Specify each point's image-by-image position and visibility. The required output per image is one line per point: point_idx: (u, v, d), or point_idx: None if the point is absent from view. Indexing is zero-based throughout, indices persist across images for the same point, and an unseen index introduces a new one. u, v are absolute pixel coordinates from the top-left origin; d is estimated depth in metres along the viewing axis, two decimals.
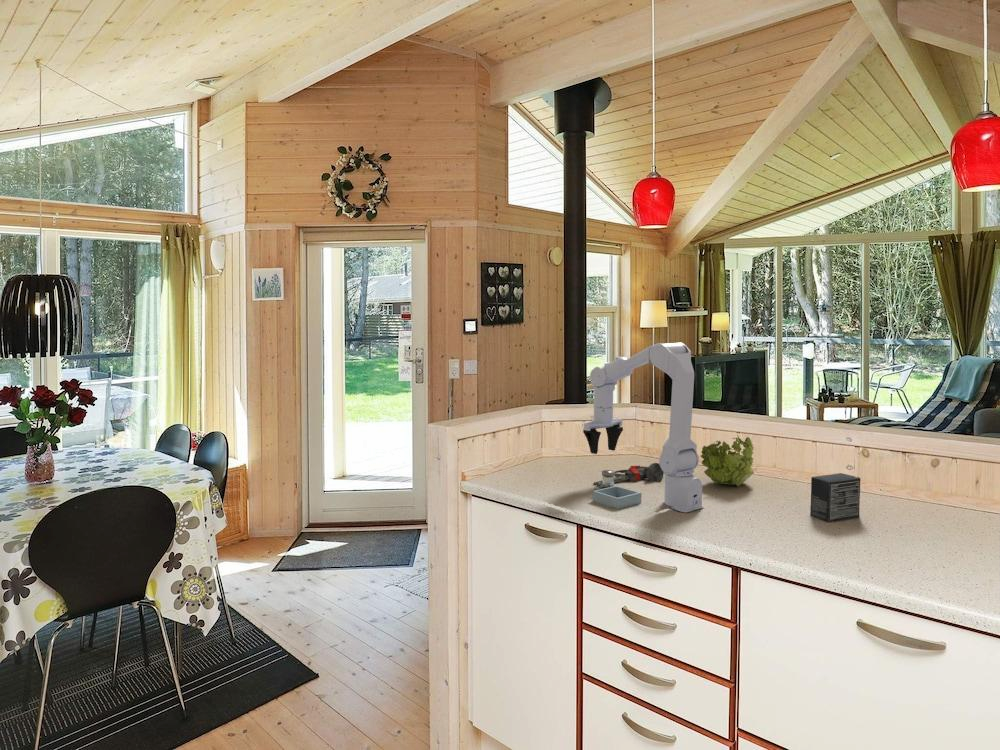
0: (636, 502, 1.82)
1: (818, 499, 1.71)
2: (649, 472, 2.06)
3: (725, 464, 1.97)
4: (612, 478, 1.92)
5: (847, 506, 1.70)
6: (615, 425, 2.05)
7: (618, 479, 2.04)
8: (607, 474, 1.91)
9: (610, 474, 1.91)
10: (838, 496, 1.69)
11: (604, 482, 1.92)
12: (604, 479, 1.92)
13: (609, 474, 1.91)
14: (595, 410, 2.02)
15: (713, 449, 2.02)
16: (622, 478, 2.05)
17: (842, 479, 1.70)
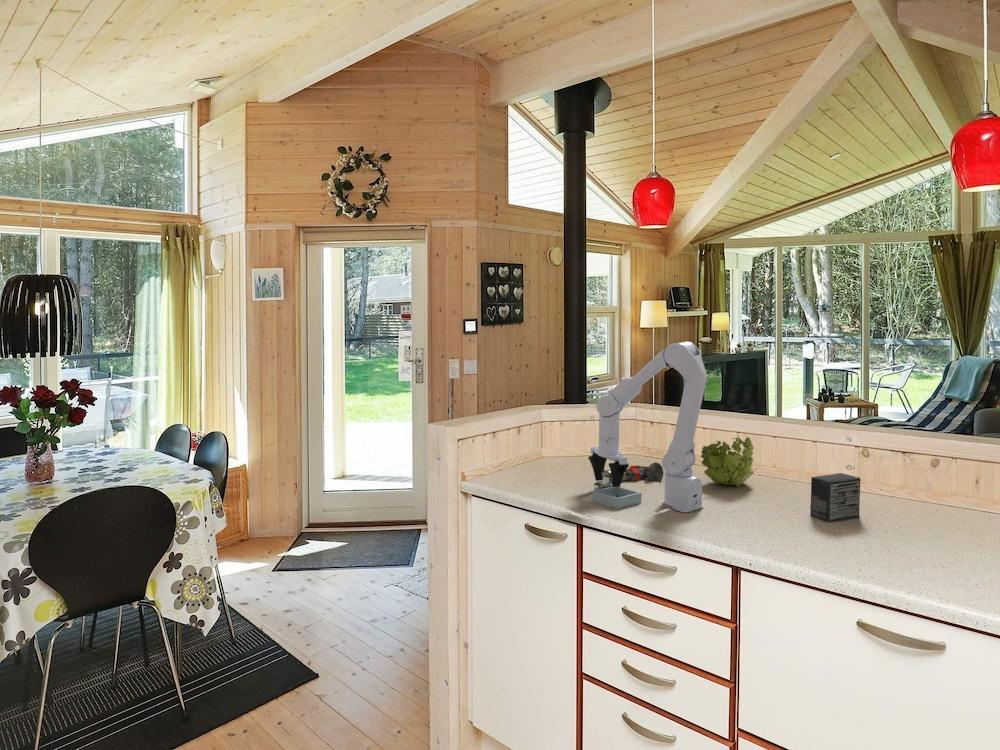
0: (636, 502, 1.82)
1: (818, 499, 1.71)
2: (649, 472, 2.06)
3: (725, 464, 1.97)
4: None
5: (847, 506, 1.70)
6: (615, 461, 1.89)
7: None
8: (607, 474, 1.91)
9: (610, 474, 1.91)
10: (838, 496, 1.69)
11: (604, 482, 1.92)
12: (604, 479, 1.92)
13: (609, 474, 1.91)
14: None
15: (713, 449, 2.02)
16: (623, 478, 2.05)
17: (842, 479, 1.70)
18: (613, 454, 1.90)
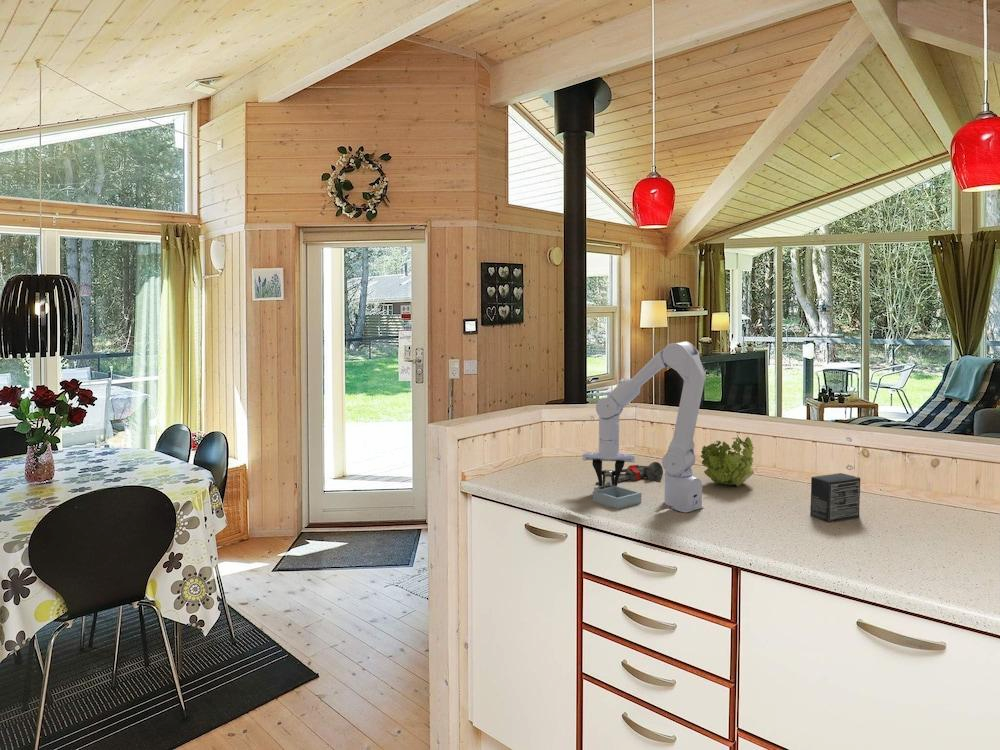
0: (636, 502, 1.82)
1: (818, 499, 1.71)
2: (649, 471, 2.07)
3: (725, 464, 1.97)
4: (612, 477, 1.92)
5: (847, 506, 1.70)
6: (624, 461, 1.91)
7: (619, 479, 2.05)
8: (607, 473, 1.92)
9: (610, 473, 1.92)
10: (838, 496, 1.69)
11: (604, 481, 1.93)
12: (604, 478, 1.93)
13: (609, 473, 1.92)
14: None
15: (713, 449, 2.02)
16: (623, 478, 2.05)
17: (842, 479, 1.70)
18: (619, 455, 1.92)
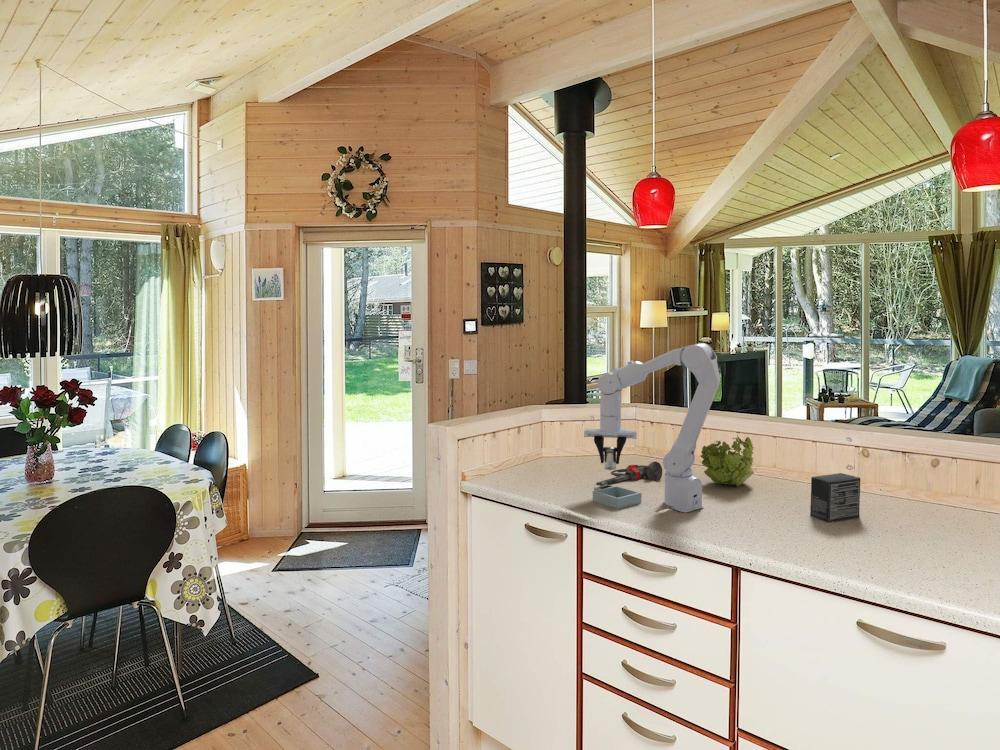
0: (636, 502, 1.82)
1: (818, 499, 1.71)
2: (649, 471, 2.07)
3: (725, 464, 1.98)
4: (614, 454, 1.90)
5: (847, 506, 1.70)
6: (626, 437, 1.89)
7: (620, 478, 2.05)
8: (609, 450, 1.90)
9: (612, 450, 1.90)
10: (838, 496, 1.69)
11: (606, 458, 1.91)
12: (606, 455, 1.91)
13: (611, 450, 1.90)
14: None
15: (713, 449, 2.02)
16: (623, 477, 2.06)
17: (842, 479, 1.70)
18: (620, 431, 1.90)
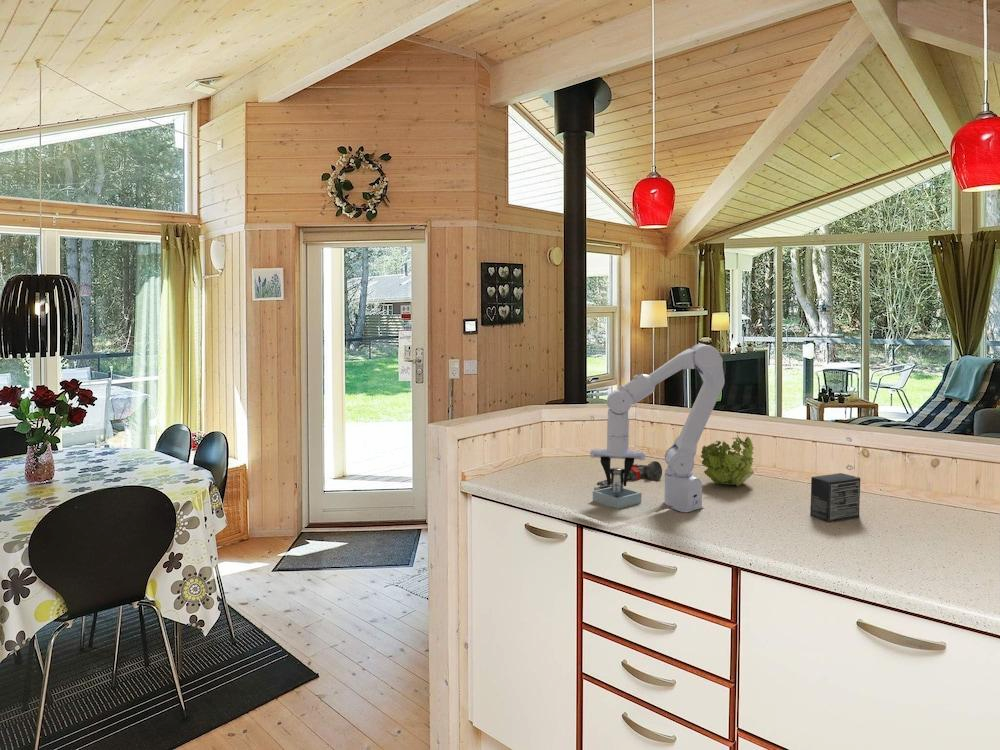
0: (636, 502, 1.82)
1: (818, 499, 1.71)
2: (649, 470, 2.08)
3: (725, 464, 1.98)
4: (621, 475, 1.83)
5: (847, 506, 1.70)
6: (633, 458, 1.81)
7: None
8: (616, 471, 1.82)
9: (619, 471, 1.82)
10: (838, 496, 1.69)
11: (613, 480, 1.83)
12: (613, 477, 1.83)
13: (618, 471, 1.82)
14: None
15: (713, 449, 2.02)
16: None
17: (842, 479, 1.70)
18: (628, 452, 1.82)
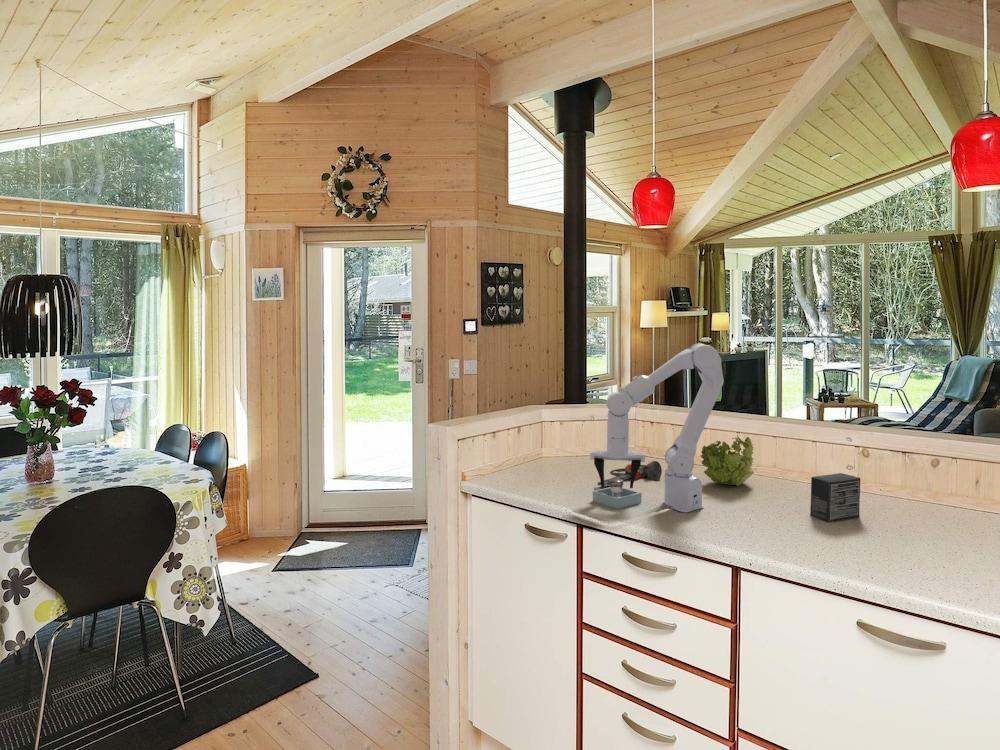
0: (636, 502, 1.82)
1: (818, 499, 1.71)
2: (649, 470, 2.08)
3: (725, 464, 1.98)
4: (621, 487, 1.83)
5: (847, 506, 1.70)
6: (633, 460, 1.81)
7: (621, 478, 2.05)
8: (615, 484, 1.82)
9: (619, 484, 1.82)
10: (838, 496, 1.69)
11: (612, 492, 1.83)
12: (612, 489, 1.83)
13: (618, 484, 1.82)
14: None
15: (713, 449, 2.02)
16: (624, 477, 2.06)
17: (842, 479, 1.70)
18: (628, 454, 1.82)
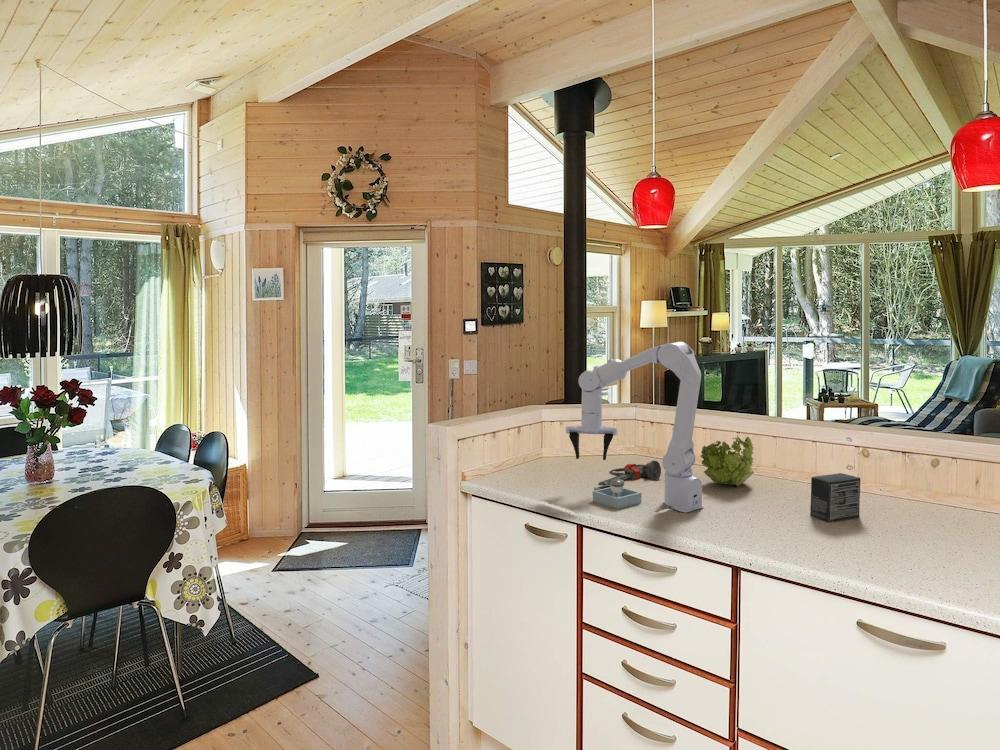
0: (636, 502, 1.82)
1: (818, 499, 1.71)
2: (649, 470, 2.09)
3: (725, 464, 1.98)
4: (621, 488, 1.83)
5: (847, 506, 1.70)
6: (606, 433, 1.93)
7: (621, 478, 2.06)
8: (616, 484, 1.82)
9: (620, 484, 1.82)
10: (838, 496, 1.69)
11: (613, 492, 1.83)
12: (613, 489, 1.83)
13: (618, 484, 1.82)
14: None
15: (713, 449, 2.02)
16: (624, 477, 2.07)
17: (842, 479, 1.70)
18: (601, 427, 1.94)
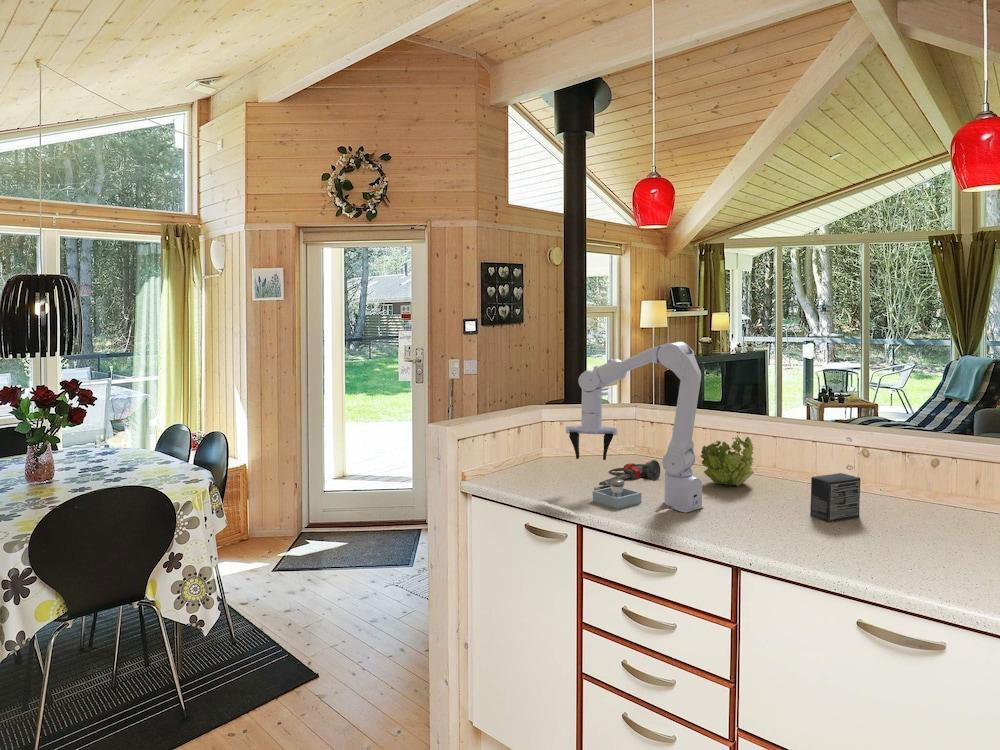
0: (636, 502, 1.82)
1: (818, 499, 1.71)
2: (649, 469, 2.09)
3: (725, 464, 1.98)
4: (621, 488, 1.83)
5: (847, 506, 1.70)
6: (606, 433, 1.93)
7: (621, 478, 2.06)
8: (616, 484, 1.82)
9: (620, 484, 1.82)
10: (838, 496, 1.69)
11: (613, 492, 1.83)
12: (613, 489, 1.83)
13: (619, 484, 1.82)
14: None
15: (713, 449, 2.02)
16: (625, 476, 2.07)
17: (842, 479, 1.70)
18: (601, 427, 1.94)
